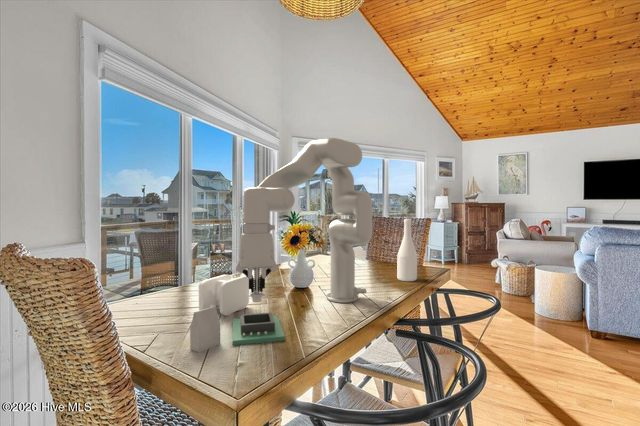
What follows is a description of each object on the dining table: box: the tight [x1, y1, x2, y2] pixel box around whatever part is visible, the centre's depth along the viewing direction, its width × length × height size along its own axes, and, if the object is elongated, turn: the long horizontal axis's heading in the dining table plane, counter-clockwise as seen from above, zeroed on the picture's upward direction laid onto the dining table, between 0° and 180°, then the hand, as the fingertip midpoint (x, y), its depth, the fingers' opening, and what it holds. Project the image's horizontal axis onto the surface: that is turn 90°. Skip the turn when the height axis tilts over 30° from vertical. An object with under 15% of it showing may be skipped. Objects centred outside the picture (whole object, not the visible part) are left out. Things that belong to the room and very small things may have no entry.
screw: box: [249, 268, 266, 303], centre depth 104 cm, size 13×5×5 cm
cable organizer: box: [198, 274, 250, 317], centre depth 123 cm, size 15×11×12 cm
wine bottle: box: [396, 218, 418, 282], centre depth 172 cm, size 10×10×30 cm
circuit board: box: [232, 312, 286, 346], centre depth 104 cm, size 14×18×4 cm
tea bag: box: [189, 306, 221, 353], centre depth 93 cm, size 4×7×10 cm, turn 145°
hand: (256, 290), depth 104 cm, fingers closed on screw, 2 cm apart
